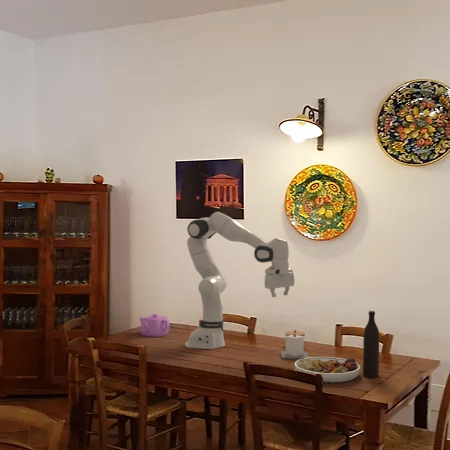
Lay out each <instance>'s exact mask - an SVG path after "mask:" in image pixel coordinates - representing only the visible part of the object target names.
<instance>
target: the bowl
mask: <svg viewBox="0 0 450 450" xmlns="http://www.w3.org/2000/svg"><path fill="white" fill-rule="evenodd" d="M294 369H295V371H296V370H298V371H303V372H308V373H313V374H321V375H322V377H323V381H324V382H323V383H328V382H330V383H333V384H334V383H335V382H337V383H344V382H350V381H352V380H354V379H356V378H357V377H358V376H359V374H360V372H361V365H360V364H359V363H357V362H356V360H355V357H351V356H350V357H347V358H346V359H345V358H339V357H332V356H331V357H330V356H314V357H313V356H309V358H303V359H297V360H296V361H295V362H294ZM330 383H329V384H330Z"/></svg>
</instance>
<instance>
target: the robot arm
mask: <svg viewBox="0 0 450 450" xmlns="http://www.w3.org/2000/svg"><path fill="white" fill-rule="evenodd" d="M186 229H187V234H188V235H189V237H188V238H187V240H186V243H187V249H188V252H189V255H190V258H191V261H192V263H193V266H194V268H195V270H196V271H197V272H198V273H199V275H200V277H201V278H202V280H201V281H200V282H199V284H198V288H197V289H198V291H199V293H200V298H201V302H202V303H201V304H202V319H199V320H198V327H197V328H196V329H195V330H193V331H191V333H190V334H189V338H188V341H186V342H185V343H184V347H185V348H189V349H203V350H204V349H205V350H214V349H218V348H223V347H225V346H226V342H225V339H224V338H225V337H224V325H225V324H224V320H223V316H224V315H223V312H224V309H223V303H222V301H221V294H223V292H224V291H225V290H226V288H227V285H228V284H227V280H226V278H225V276H223V274H222V273H221V271H220V270H219V267H217V266H218V265H217V264H216V263H215V261H214V258H213V256H212V253H211V251H210V248H209V246H208V244H207V243H208V242H207V240H208V239H209V240H210V239H211V238H212V237H213V236H215V234H218V235H219V236H221V237H222V238H224V239H226V240H228V241H230V242H233V243H234V242H237V243H243V244H247V245H249V246H250V247H252V248H254V251H253V255H254V258H255V260H256V261H257V262H258V263H263V264H264V263H265V264H266V263H271V266H269V267H267V268H266V269H265V270H264V274H265V275H264V287H265V289H268V290H269V291H270V293H271V298H276V297H277V293H276V292H275V290H276V289H279V288H280V289H282V288H284V291H283V296H288V295H289V290H290V287H294V286H295V275H294V270H293V269H292V268H289V266H290V265H289V264H290V263H289V257H290V254H289V253H290V252H289V243H288V241H287V240H286V239H284V238H278V237H277V238H273V239H272V240H270V241H266V240H264V239H262V237H259V236H258V235H256V234H254V233H253V232H251V231H249V230H248V229H247V228H246V227H244V226H242V224H240V223H239V222H238V221H236V220H235V219H233V218H232V217H230V216H228V215H226V214H225V213H222V212H220V211H215V212H214V213H212V214H211V215H210V216H207V217H201V218H197V219H194V220H192V221H190V223H188V225H187V228H186Z"/></svg>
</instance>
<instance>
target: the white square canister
mask: <svg viewBox="0 0 450 450" xmlns="http://www.w3.org/2000/svg"><path fill="white" fill-rule="evenodd" d="M304 343H305V338H304V336H299V335H296V334H293V335H289V336H286V335H285V351H286V354H287V355H291V356H299V355H303V351H304V348H305V347H304V346H305V344H304Z"/></svg>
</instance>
